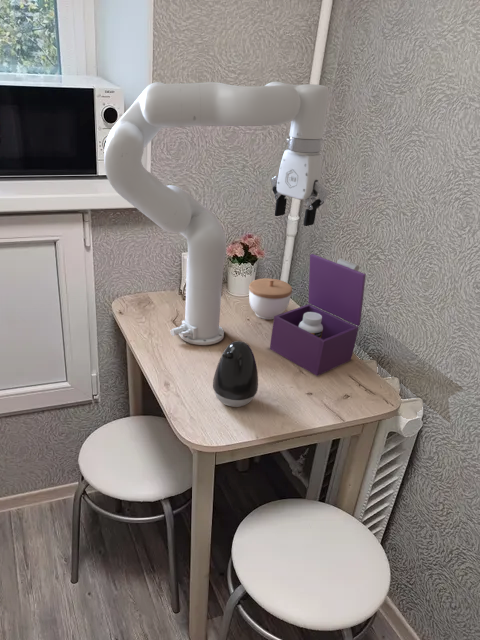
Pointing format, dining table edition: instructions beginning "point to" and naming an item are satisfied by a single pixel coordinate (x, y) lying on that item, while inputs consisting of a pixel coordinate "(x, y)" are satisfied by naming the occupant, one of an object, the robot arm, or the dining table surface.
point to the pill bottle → (312, 323)
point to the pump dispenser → (236, 375)
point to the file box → (313, 340)
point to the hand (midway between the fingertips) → (293, 220)
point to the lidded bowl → (269, 297)
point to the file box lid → (337, 288)
